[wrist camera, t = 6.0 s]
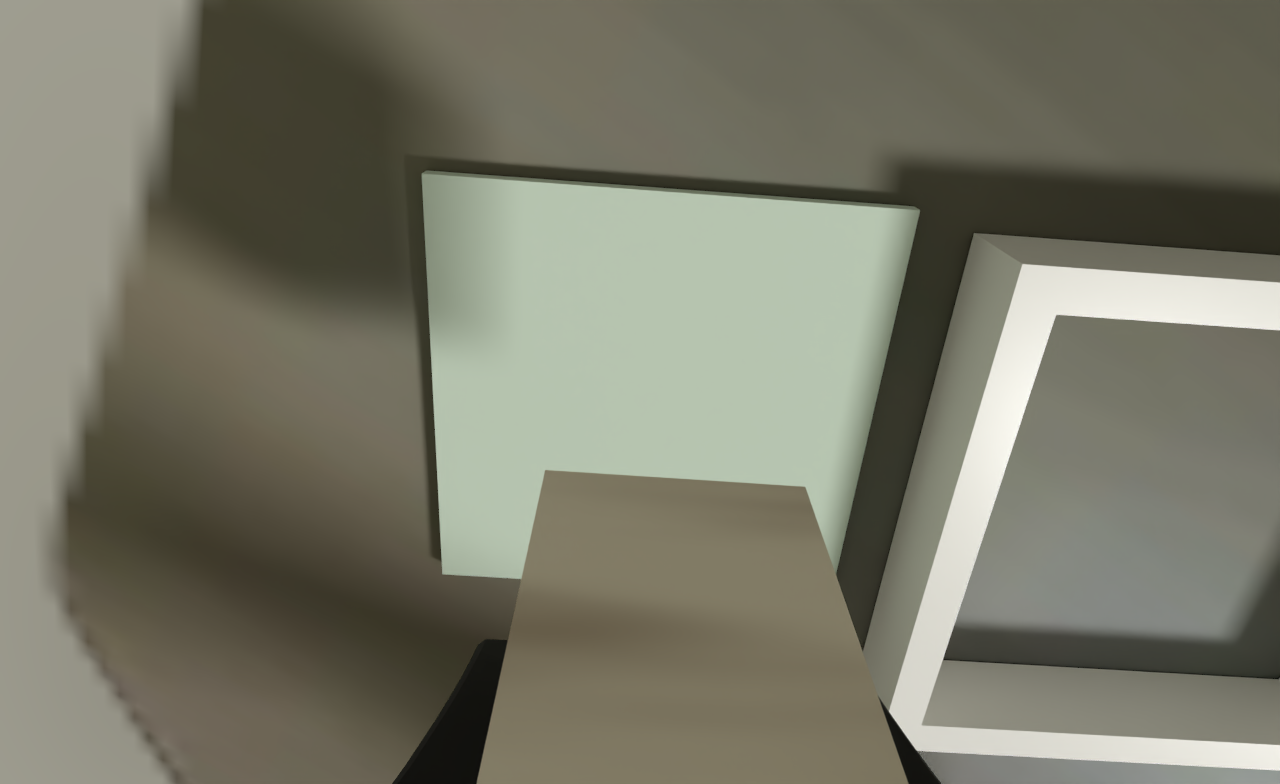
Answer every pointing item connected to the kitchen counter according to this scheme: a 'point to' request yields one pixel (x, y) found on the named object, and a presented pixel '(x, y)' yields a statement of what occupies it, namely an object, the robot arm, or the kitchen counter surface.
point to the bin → (966, 491)
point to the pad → (648, 344)
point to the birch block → (682, 643)
